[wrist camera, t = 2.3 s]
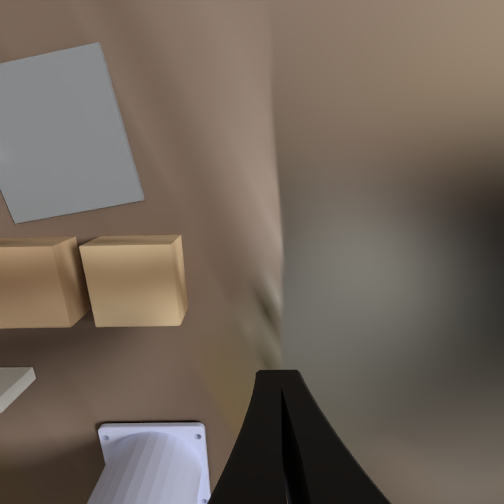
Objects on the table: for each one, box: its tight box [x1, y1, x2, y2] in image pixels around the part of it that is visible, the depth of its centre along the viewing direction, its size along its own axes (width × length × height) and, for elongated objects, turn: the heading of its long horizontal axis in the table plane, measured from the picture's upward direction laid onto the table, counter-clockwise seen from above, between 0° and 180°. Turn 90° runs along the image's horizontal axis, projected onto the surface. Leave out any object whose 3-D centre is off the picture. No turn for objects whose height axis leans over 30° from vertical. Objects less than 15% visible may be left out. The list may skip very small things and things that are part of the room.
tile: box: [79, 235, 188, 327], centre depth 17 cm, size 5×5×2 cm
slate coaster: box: [0, 42, 145, 224], centre depth 16 cm, size 8×8×1 cm
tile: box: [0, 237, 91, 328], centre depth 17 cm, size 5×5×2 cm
